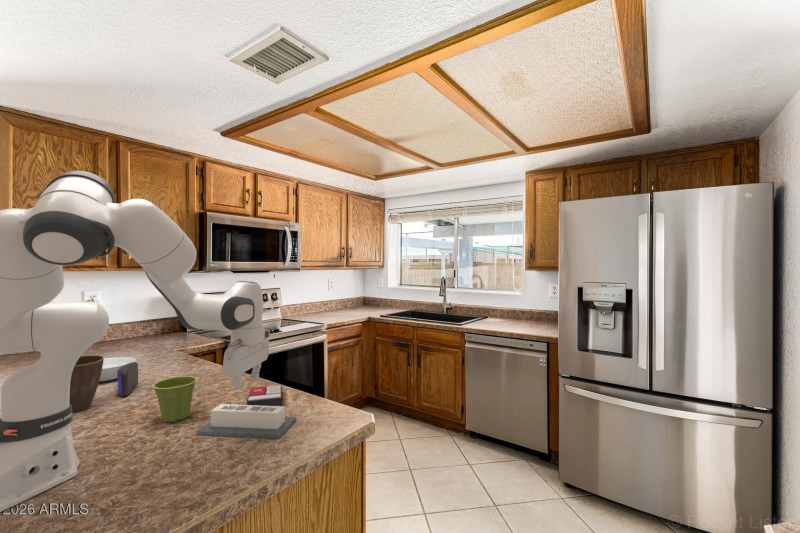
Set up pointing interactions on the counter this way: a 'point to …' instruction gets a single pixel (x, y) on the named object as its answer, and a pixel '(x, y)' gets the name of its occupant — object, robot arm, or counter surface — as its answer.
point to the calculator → (265, 396)
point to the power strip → (248, 416)
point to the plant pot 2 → (175, 397)
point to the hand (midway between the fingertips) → (247, 383)
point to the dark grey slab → (127, 378)
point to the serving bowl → (113, 367)
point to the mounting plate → (247, 429)
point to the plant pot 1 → (85, 381)
